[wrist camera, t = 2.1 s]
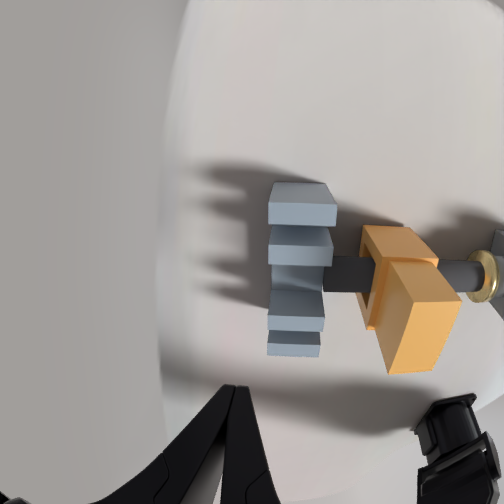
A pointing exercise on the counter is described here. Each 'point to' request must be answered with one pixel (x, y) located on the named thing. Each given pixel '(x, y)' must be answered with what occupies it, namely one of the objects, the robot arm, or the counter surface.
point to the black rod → (362, 271)
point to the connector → (500, 249)
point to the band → (490, 276)
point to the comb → (298, 266)
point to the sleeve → (406, 299)
